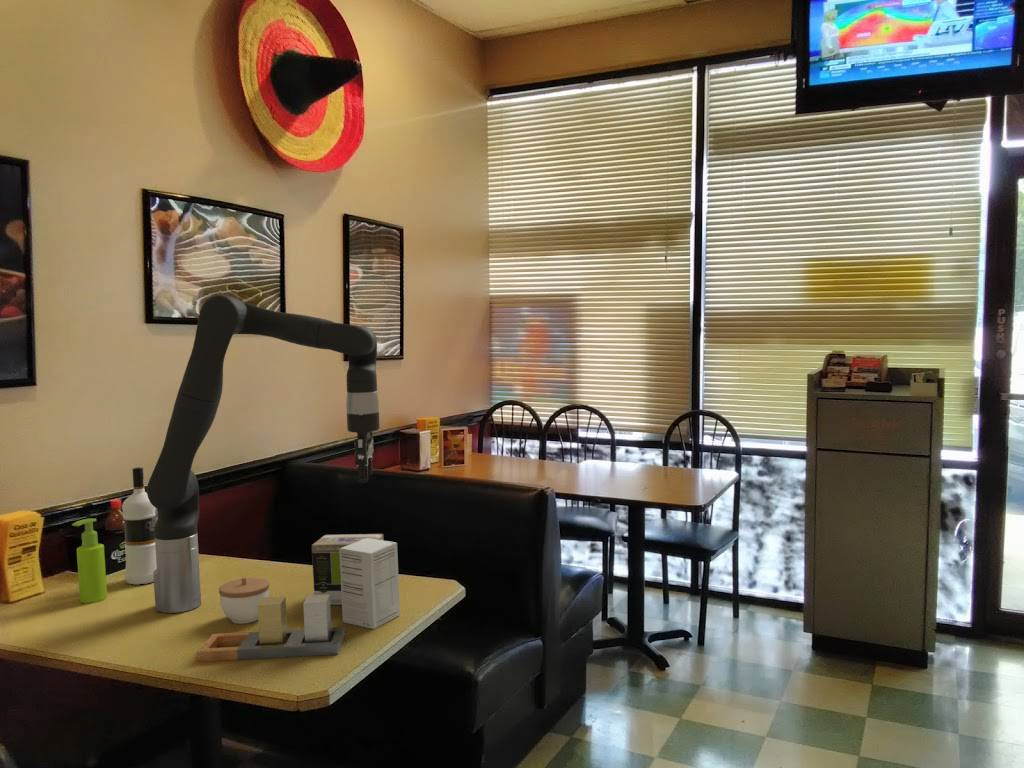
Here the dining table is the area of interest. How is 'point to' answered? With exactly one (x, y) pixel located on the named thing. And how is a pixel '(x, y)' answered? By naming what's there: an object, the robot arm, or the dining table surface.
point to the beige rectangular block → (272, 621)
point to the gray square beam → (317, 619)
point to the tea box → (332, 563)
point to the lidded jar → (243, 598)
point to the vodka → (139, 533)
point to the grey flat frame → (267, 646)
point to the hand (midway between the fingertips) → (365, 478)
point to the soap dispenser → (91, 565)
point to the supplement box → (369, 582)
